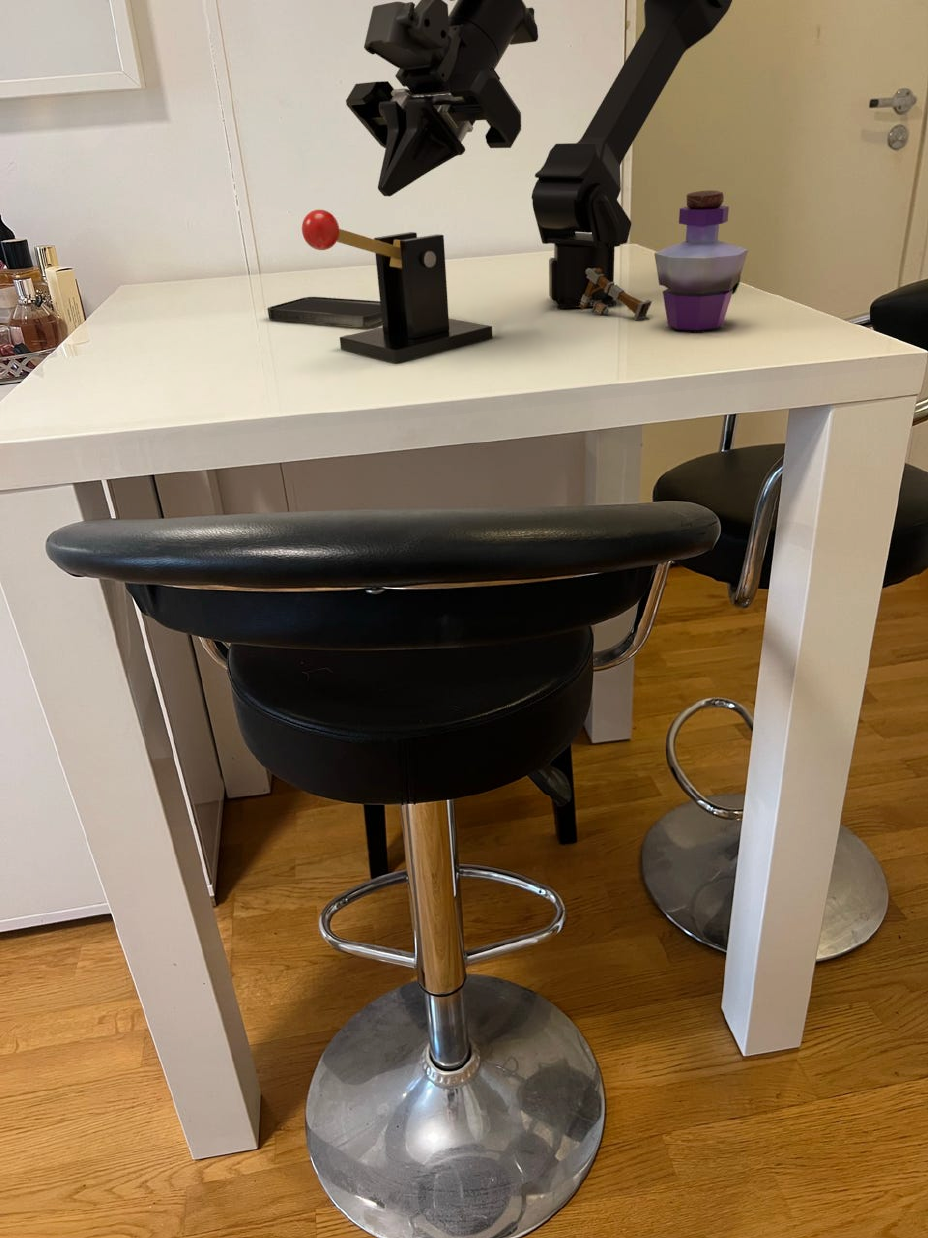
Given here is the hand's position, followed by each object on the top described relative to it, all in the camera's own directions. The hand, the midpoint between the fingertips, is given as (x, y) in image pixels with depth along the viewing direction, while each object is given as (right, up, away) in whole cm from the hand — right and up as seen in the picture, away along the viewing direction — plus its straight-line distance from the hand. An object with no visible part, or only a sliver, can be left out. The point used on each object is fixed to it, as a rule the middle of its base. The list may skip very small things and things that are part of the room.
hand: (383, 192), depth 79 cm
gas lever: (-2, -6, +1) cm, 6 cm away
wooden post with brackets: (+23, -6, +14) cm, 28 cm away
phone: (-7, -4, +22) cm, 23 cm away
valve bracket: (+3, -11, +8) cm, 14 cm away
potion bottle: (+30, -9, +8) cm, 32 cm away
